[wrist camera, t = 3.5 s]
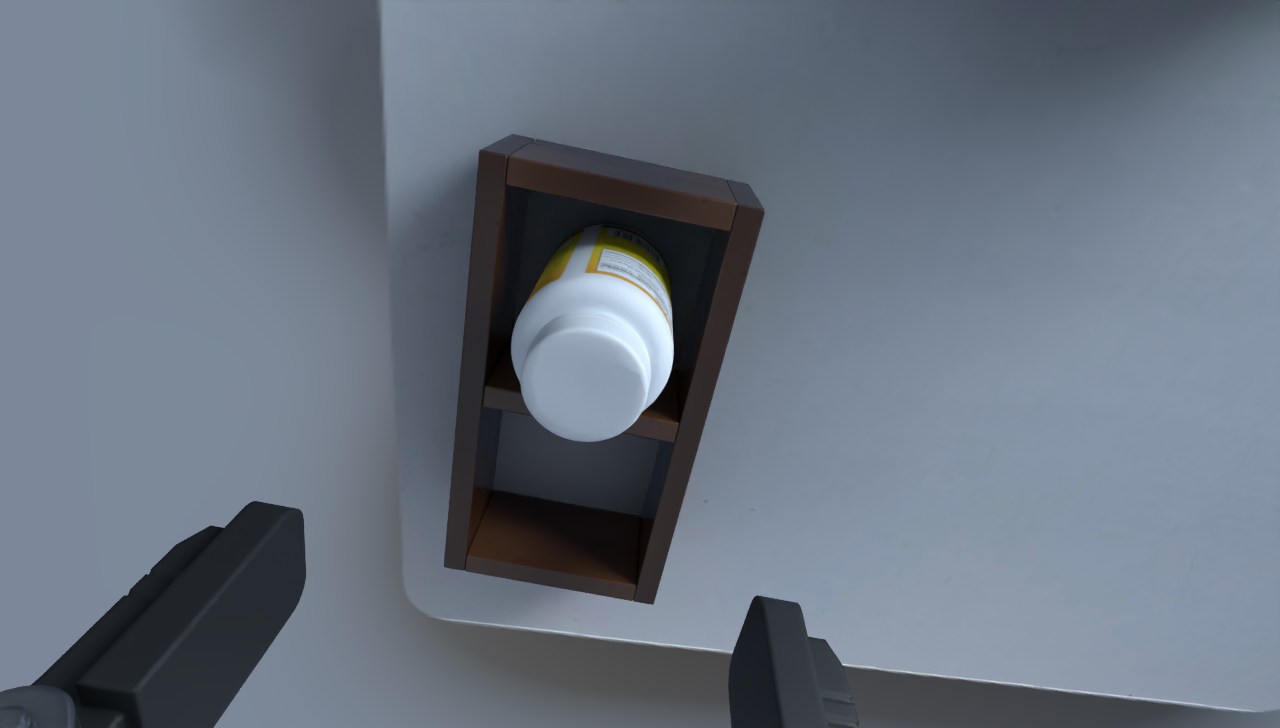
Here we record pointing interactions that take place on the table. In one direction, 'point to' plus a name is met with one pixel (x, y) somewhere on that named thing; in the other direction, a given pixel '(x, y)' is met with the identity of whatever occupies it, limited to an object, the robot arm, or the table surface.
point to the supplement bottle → (596, 334)
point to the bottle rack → (478, 515)
